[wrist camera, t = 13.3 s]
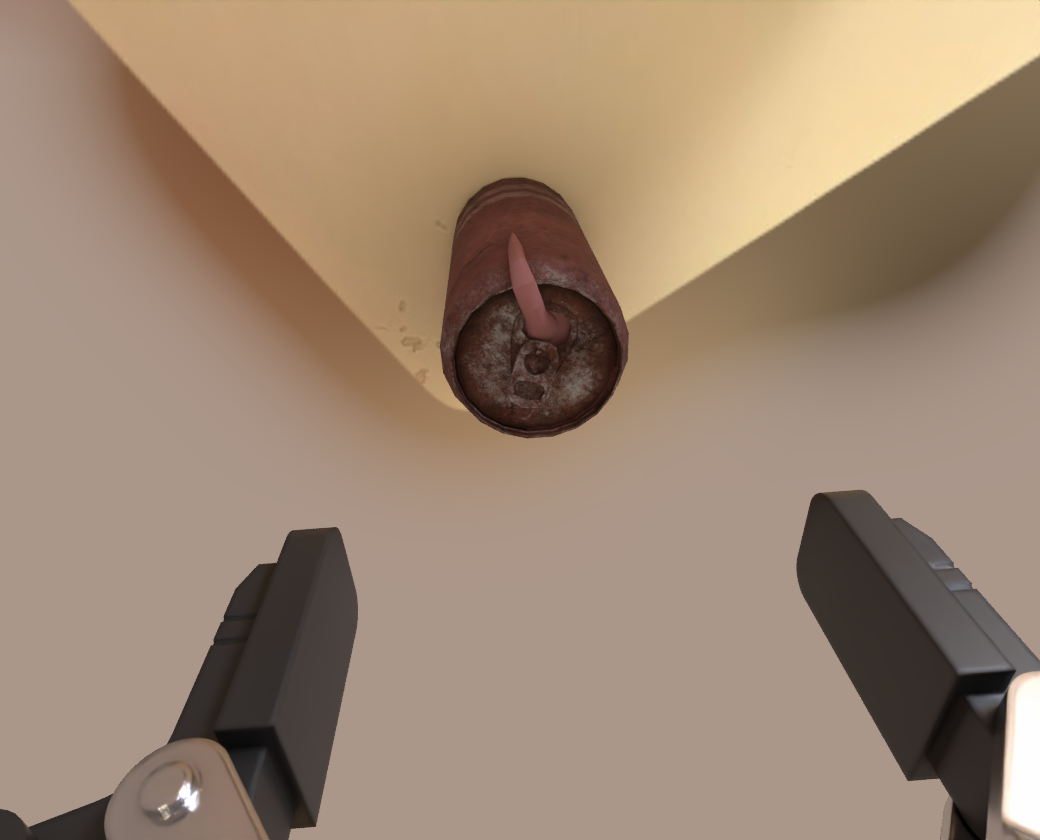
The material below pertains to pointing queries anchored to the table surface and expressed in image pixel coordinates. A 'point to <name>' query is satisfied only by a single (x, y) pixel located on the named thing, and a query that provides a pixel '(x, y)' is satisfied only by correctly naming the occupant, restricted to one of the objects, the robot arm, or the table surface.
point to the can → (529, 314)
